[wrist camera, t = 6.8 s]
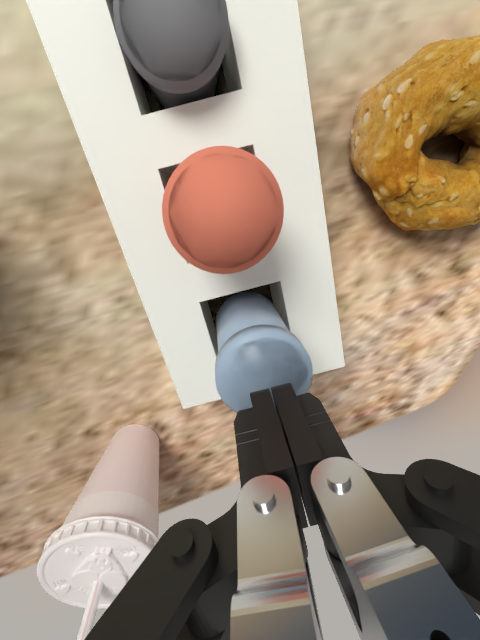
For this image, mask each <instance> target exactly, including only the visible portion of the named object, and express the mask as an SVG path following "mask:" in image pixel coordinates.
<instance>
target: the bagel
mask: <svg viewBox="0 0 480 640" xmlns="http://www.w3.org/2000/svg"><path fill="white" fill-rule="evenodd" d="M452 133H453V134H454V135H455V136H456V137H457V138H458V139H461V140H462V141H464V142H465V144H464V146H463V147H462V149H461V152H460V158H459V163H458V164H454V163H452V162H450V161H447V160H438V159H429V158H428V157H426V156H425V155H424V154H423V153H422V151H421V147H422V144H424V143H425V142H426V141H427V140H429V139H433V138H435V137H436V136H437V135H444V136H445V135H450V134H452ZM351 137H352V138H351V154H350V162H351V164H352V166H353V168H354V170H355V171H356V173H357V174H358V175H359V177H361V178H362V179H363V180H364V181H365V182H366V183H367V184H368V185H369V187H370V188H371V190H372V193H373V195H374V197H375V200H376V201H377V204H378V205H379V206H380V207H381V208H382V209H383V211H384V212H385V213H386V214H387V216H388V217H389V219H390V220H391V221H392V222H393V223H395V224H396V225H397V226H398V227H399V228H401V229H403V230H422V231H428V230H433V229H435V230H440V229H442V230H443V229H448V230H452V229H455V228H460V227H465V226H468V225H475V224H477V223H478V222H480V35H478V36H474V37H465V38H461V39H453V40H441V41H437V42H434V43H431V44H429V45H427V46H425V47H423V48H422V49H421V50H419V51H418V52H417V53H416V54H415V55H414V56H413V57H412V58H411V59H410V60H408V61H407V62H406V63H405V64H404V65H402V66H401V67H399V68H398V69H396V70H395V71H393V72H392V73H390V74H389V75H388V76H387V77H385V78H384V79H383V80H381V81H380V82H379V83H378V84H377V85H376V86H375V87H374V88H372V89H370V90H369V91H368V92H367V93H365V94H364V96H363V97H362V98H361V100H360V101H359V103H358V105H357V107H356V109H355V115H354V120H353V128H352V130H351Z"/></svg>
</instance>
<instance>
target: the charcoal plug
mask: <svg viewBox="0 0 480 640" xmlns="http://www.w3.org/2000/svg"><path fill="white" fill-rule="evenodd" d="M113 15H114V22H115V27H116V31H117V35H118V38H119V41H120V43H121V45H122V47H123V50H124V52H125V53H126V55H127V57H128V58H129V60H130V62H131V63H132V65H133V67H134V68H135V69H136V71H137V72H138V73H139V74H140V75H141V76H142V77H143V78H144V79H145V80H146V81H147V83H148V84H149V86H150V88H151V90H152V92H153V94H154V96H155V97H156V99H157V100H158V101H159V103H160V104H161V105H162V106H163V107H164V108H166V109H168V108H172V107H176V106H180V105H184V104H187V103H191V102H195V101H199V100H203V99H206V98H210V97H214V94H215V91H216V87H217V80H218V70H219V67H220V65H221V63H222V60H223V57H224V54H225V50H226V44H227V37H228V25H229V24H228V11H227V5H226V1H225V0H113Z"/></svg>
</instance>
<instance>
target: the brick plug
mask: <svg viewBox="0 0 480 640" xmlns="http://www.w3.org/2000/svg"><path fill="white" fill-rule="evenodd" d="M162 217H163V223H164V227H165V231H166V233H167V236H168V238H169V240H170V242H171V244H172V245H173V247H174V248H175V249H176V251H177V252H178V253H179V254H180V255H181V256H182V257H183V258H184V259H185V260H186V261H187V262H189V263H190V264H192V265H193V266H195V267H197V268H199V269H201V270H204V271H207V272H211V273H216V274H232V273H237V272H241V271H244V270H246V269H248V268H250V267H252V266H254V265H255V264H257V263H259V262H260V261H261V260H262V259H263V258H264V257H265V256H266V255H267V254H268V253H269V252H270V251H271V249H272V248H273V246H274V245H275V243H276V241H277V239H278V237H279V234H280V232H281V228H282V224H283V217H284V205H283V198H282V193H281V190H280V187H279V185H278V182H277V180H276V178H275V177H274V175H273V173H272V172H271V171H270V169H269V168H268V167H267V166H266V165H265V164H264V163H263V162H262V161H261V160H260V159H259V158H257V157H256V156H254V155H253V154H251V153H249V152H247V151H245V150H243V149H240V148H236V147H231V146H213V147H208V148H205V149H202V150H199V151H197V152H195V153H193V154H191V155H190V156H189V157H187V158H186V159H184V160H183V161H182V162H181V163H180V164H179V165H178V167H177V168H176V169H175V170H174V172H173V173H172V175H171V177H170V178H169V180H168V183H167V185H166V187H165V191H164V195H163V201H162Z"/></svg>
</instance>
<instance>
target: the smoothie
mask: <svg viewBox="0 0 480 640" xmlns="http://www.w3.org/2000/svg"><path fill="white" fill-rule="evenodd" d="M158 504H159V438H158V436H157V434H156V433H155V432H154V431H153V430H152V429H151V428H149V427H147V426H144V425H139V424H131V425H127V426H124V427H122V428H120V429H119V430H118V431H117V432H116V433H115V434H114V436H113V438H112V439H111V441H110V443H109V445H108V446H107V448H106V450H105V452H104V453H103V455H102V457H101V459H100V460H99V462H98V464H97V466H96V467H95V469H94V471H93V473H92V474H91V476H90V478H89V479H88V481H87V483H86V485H85V486H84V488H83V490H82V492H81V493H80V495H79V497H78V499H77V500H76V502H75V504H74V506H73V507H72V509H71V510H70V512H69V514H68V516H67V518H66V519H65V521H64V523H63V525H62V527H60V528H59V529H57V530H56V531H55V532H53V533H52V534H51V536H50V537H49V539H48V540H47V541H46V543H45V545H44V549H43V553H42V555H41V557H40V559H39V562H38V565H37V577H38V580H39V582H40V584H41V586H42V587H43V588H44V590H45V591H46V592H47V593H48V594H50V595H51V596H52V597H54V598H55V599H57V600H59V601H61V602H63V603H65V604H68V605H72V606H75V607H80V608H85V612H84V615H83V619H82V622H81V626H80V629H79V633H78V636H77V640H84V639H85V638H86V637H87V635H88V634H89V633H90V631H91V630H92V626H93V622H94V618H95V614H96V611H97V609H108V607H109V606H110V605H111V603H112V602H113V601H114V599H115V598H116V597H117V595H118V594H119V593H120V591H121V590H122V589H123V587H124V586H125V585H126V583H127V582H128V581H129V579H130V578H131V577H132V575H133V574H134V573H135V571H136V570H137V569H138V567H139V566H140V565H141V563H142V562H143V561H144V559H145V558H146V557H147V555H148V554H149V553H150V551H151V550H152V549H153V547H154V546H155V545H156V543H157V542H158V541H159V539H158Z"/></svg>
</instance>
